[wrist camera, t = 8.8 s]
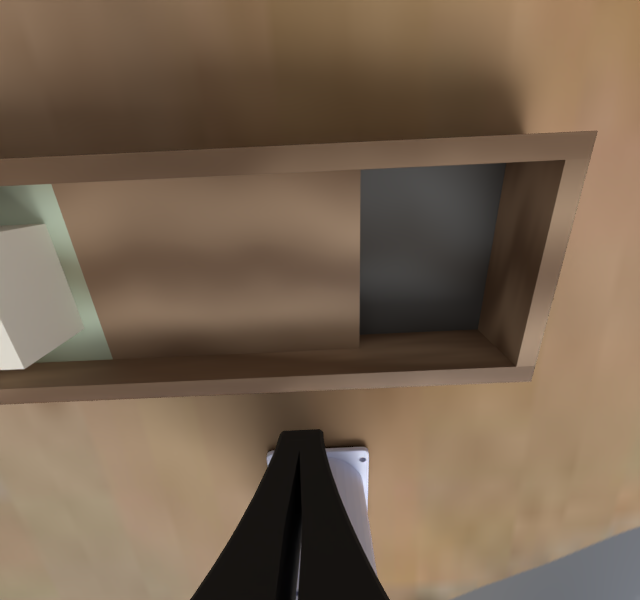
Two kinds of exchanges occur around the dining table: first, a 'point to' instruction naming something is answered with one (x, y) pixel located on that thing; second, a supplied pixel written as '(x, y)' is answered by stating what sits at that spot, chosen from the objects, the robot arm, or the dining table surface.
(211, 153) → the trap box
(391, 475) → the dining table surface
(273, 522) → the robot arm
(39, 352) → the cream block
